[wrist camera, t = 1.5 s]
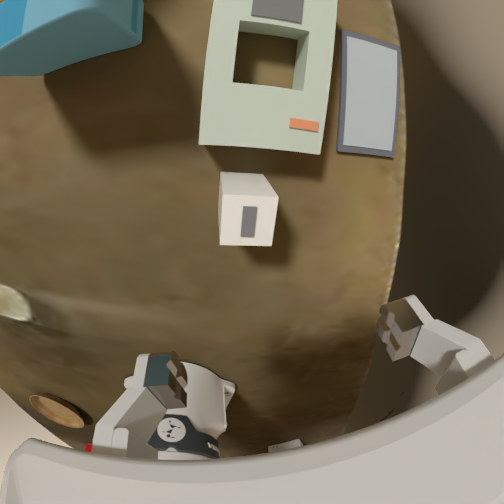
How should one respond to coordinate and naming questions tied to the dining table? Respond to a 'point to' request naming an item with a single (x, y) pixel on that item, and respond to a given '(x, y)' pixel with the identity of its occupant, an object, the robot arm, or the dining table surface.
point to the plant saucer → (57, 409)
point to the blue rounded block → (64, 32)
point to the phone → (368, 95)
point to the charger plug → (246, 209)
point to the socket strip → (267, 97)
